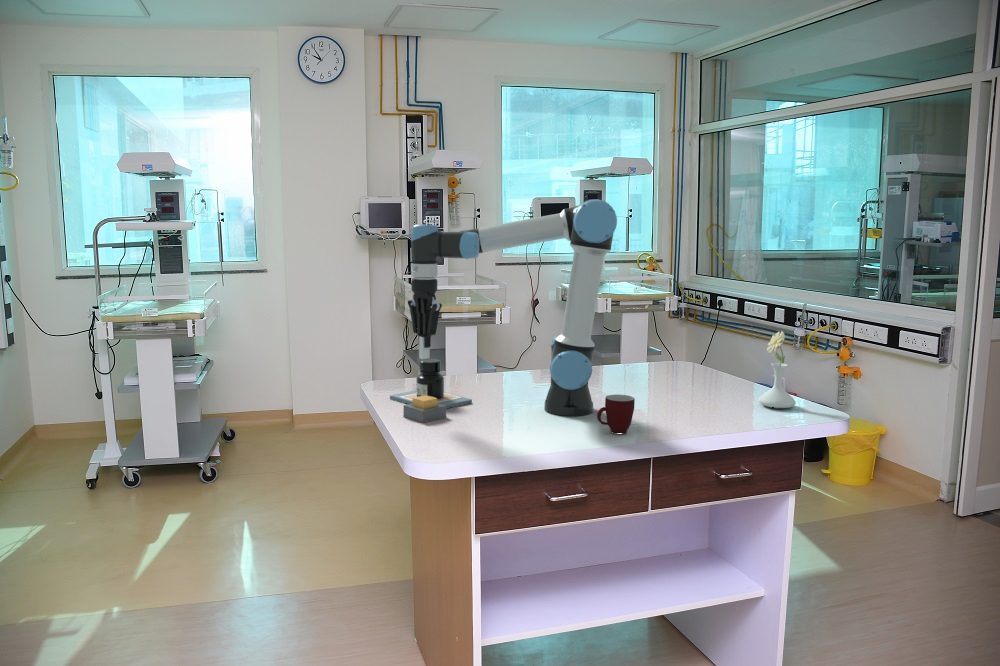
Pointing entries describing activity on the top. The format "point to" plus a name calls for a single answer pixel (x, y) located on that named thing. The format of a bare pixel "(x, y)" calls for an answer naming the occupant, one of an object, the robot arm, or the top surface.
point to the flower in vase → (777, 378)
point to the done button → (424, 402)
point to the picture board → (446, 400)
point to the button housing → (424, 412)
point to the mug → (618, 412)
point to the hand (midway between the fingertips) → (424, 358)
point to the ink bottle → (430, 379)
